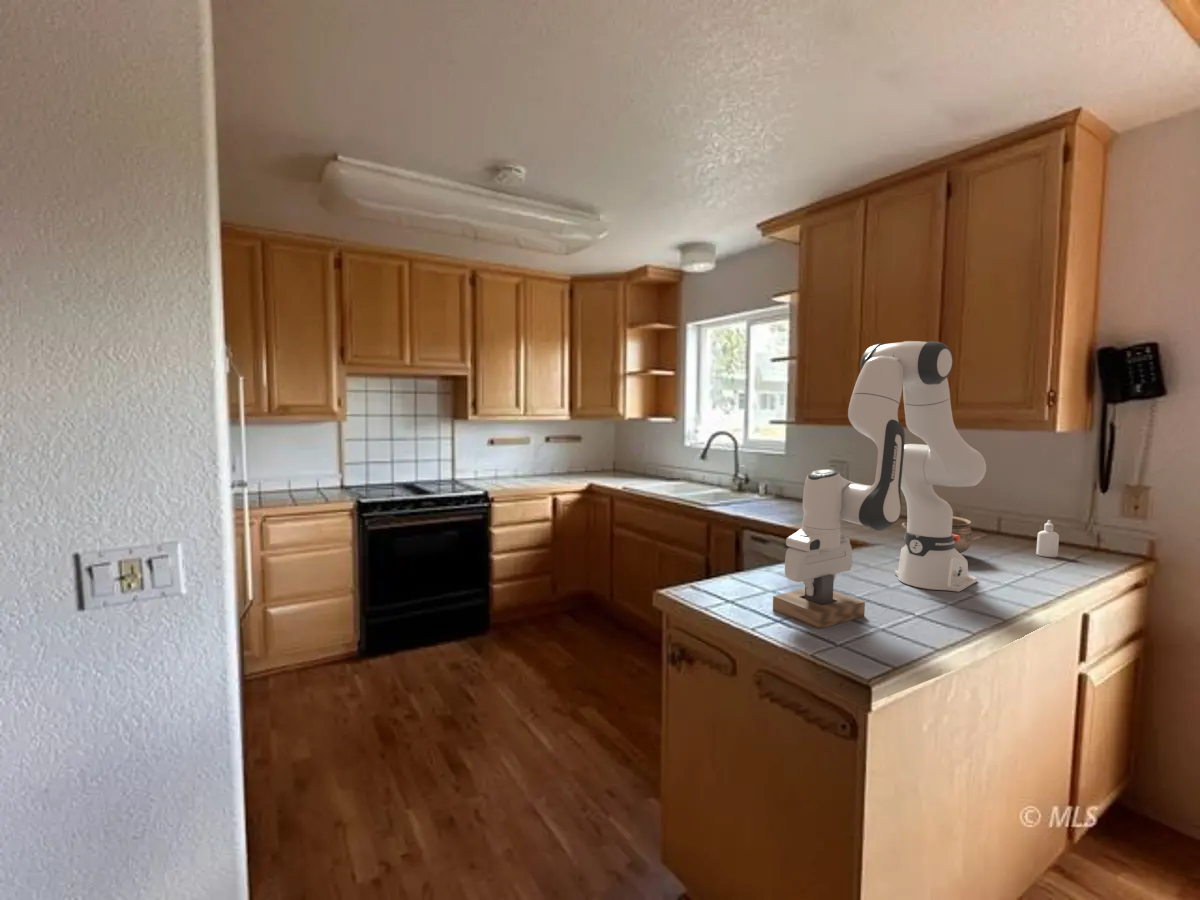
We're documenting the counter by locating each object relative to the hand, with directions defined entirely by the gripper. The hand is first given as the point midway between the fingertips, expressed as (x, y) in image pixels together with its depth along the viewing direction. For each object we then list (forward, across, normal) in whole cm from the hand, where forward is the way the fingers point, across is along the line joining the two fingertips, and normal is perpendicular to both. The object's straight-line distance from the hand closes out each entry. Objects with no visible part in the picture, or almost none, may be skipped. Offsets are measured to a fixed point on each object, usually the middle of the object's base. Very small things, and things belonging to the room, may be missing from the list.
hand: (818, 593), depth 147 cm
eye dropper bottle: (+5, -108, +2) cm, 108 cm away
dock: (+5, 0, 0) cm, 5 cm away
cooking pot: (+5, -77, -16) cm, 79 cm away
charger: (+3, 0, 0) cm, 3 cm away
